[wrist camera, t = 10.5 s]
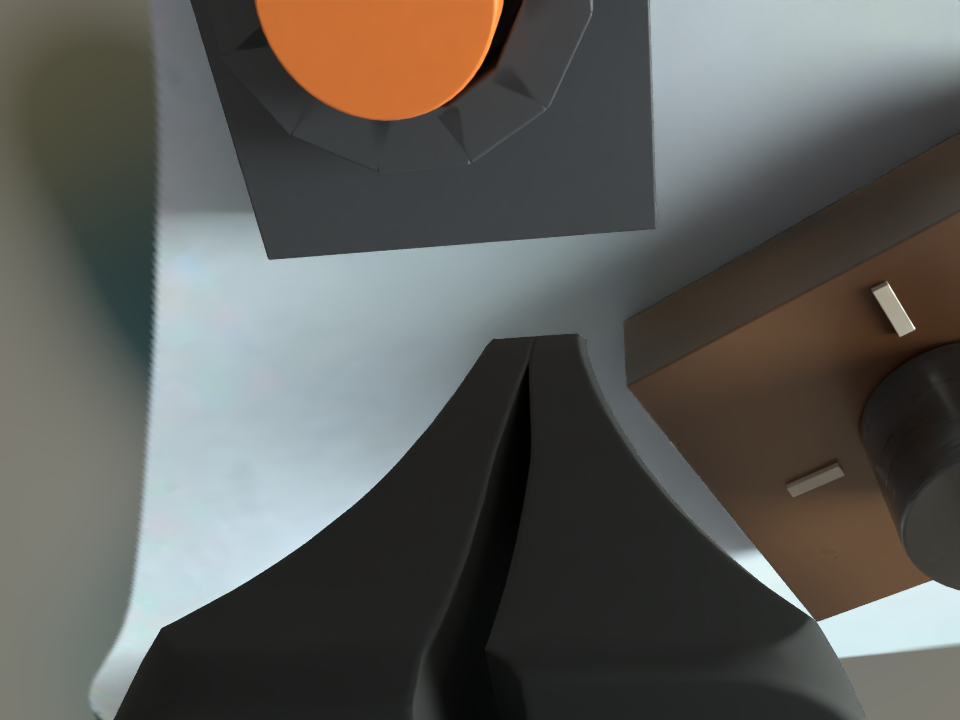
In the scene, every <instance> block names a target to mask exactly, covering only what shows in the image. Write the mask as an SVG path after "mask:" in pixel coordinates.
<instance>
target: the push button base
mask: <svg viewBox="0 0 960 720" xmlns="http://www.w3.org/2000/svg"><path fill="white" fill-rule="evenodd" d="M190 1H191V4H192V8H193V11H194V14H195V18H196V21H197V24H198V28H199V31H200V34H201V38H202V41H203V44H204V48H205V51H206V54H207V57H208V61H209V64H210V67H211V71H212V74H213V77H214V81H215V84H216V87H217V91H218V94H219V97H220V101H221V104H222V107H223V111H224V114H225V117H226V121H227V124H228V127H229V130H230V134H231V137H232V140H233V144H234V147H235V150H236V154H237V157H238V160H239V164H240V167H241V170H242V174H243V177H244V180H245V184H246V187H247V190H248V194H249V197H250V200H251V203H252V207H253V210H254V213H255V217H256V220H257V223H258V227H259V230H260V233H261V237H262V240H263V243H264V247H265V250H266V253H267V257H268V259H269V260H272V259H285V258H297V257H310V256H322V255H335V254H347V253H360V252H372V251H385V250H397V249H410V248H422V247H435V246H447V245H460V244H472V243H485V242H497V241H510V240H522V239H535V238H547V237H560V236H572V235H585V234H597V233H610V232H622V231H635V230H647V229H656V227H657V215H656V184H655V152H654V121H653V89H652V57H651V26H650V0H504V3H503V8H502V12H501V15H500V18H499V21H498V24H497V27H496V30H495V33H494V36H493V39H492V42H491V45H490V47H489V50H488V52H487V54H486V56H485V59H484V61H483V63H482V65H481V66H480V68H479V69H478V71H477V72H476V74H475V75H474V77H473V78H472V79H471V80H470V82H469V83H468V84H467V85H466V86H465V87H464V88H463V89H462V90H461V91H460V92H459V93H458V94H457V95H456V96H454V97H453V98H452V99H451V100H449V101H448V102H446V103H445V104H443V105H442V106H440V107H438V108H436V109H434V110H432V111H430V112H428V113H425V114H422V115H419V116H416V117H413V118H407V119H401V120H388V121H381V120H370V119H364V118H360V117H355V116H352V115H349V114H346V113H343V112H341V111H338V110H336V109H334V108H332V107H330V106H328V105H326V104H324V103H323V102H321V101H320V100H318V99H317V98H315V97H313V96H312V95H311V94H309V93H308V92H307V91H306V90H305V89H303V88H302V87H301V86H300V85H299V84H298V83H297V82H296V81H295V80H294V79H293V78H292V77H291V76H290V75H289V74H288V73H287V71H286V70H285V69H284V67H283V66H282V65H281V63H280V62H279V61H278V59H277V58H276V56H275V54H274V53H273V51H272V49H271V48H270V46H269V44H268V41H267V39H266V37H265V35H264V33H263V30H262V27H261V24H260V21H259V18H258V15H257V11H256V6H255V1H254V0H190Z"/></svg>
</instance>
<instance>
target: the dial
mask: <svg viewBox="0 0 960 720" xmlns="http://www.w3.org/2000/svg"><path fill="white" fill-rule="evenodd" d="M861 439H862V444H863V447H864V449H865V452H866V455H867V457H868V460H869V462H870V465H871V467H872V470H873V472H874V475H875V477H876V480H877V482H878V485H879V487H880V490H881V492H882V495H883V498H884V500H885V503H886V505H887V508H888V510H889V513H890V515H891V518H892V520H893V523H894V525H895V528H896V530H897V533H898V535H899V538H900V540H901V543H902V545H903V548H904V550H905V552H906V554H907V556H908V558H909V559H910V560H911V562H912V563H913V564H914V565H915V566H916V567H917V568H918V569H919V570H920V571H921V572H923V573H924V574H925V575H926V576H928V577H929V578H931V579H933V580H934V581H936V582H938V583H940V584H943V585H945V586H947V587H951V588H954V589H957V590H960V342H957V343H952V344H948V345H944V346H941V347H938V348H934V349H932V350H929V351H927V352H924V353H922V354H920V355H918V356H916V357H914V358H912V359H910V360H908V361H907V362H905V363H904V364H902V365H901V366H899V367H898V368H897V369H895V370H894V371H893V372H892V373H891V374H889V375H888V376H887V377H886V378H885V379H884V380H883V381H882V382H881V383H880V384H879V386H878V387H877V388H876V390H875V391H874V392H873V394H872V395H871V397H870V399H869V401H868V402H867V405H866V407H865V410H864V413H863V417H862V421H861Z"/></svg>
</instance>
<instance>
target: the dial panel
mask: <svg viewBox="0 0 960 720" xmlns="http://www.w3.org/2000/svg"><path fill="white" fill-rule="evenodd" d="M623 334H624V351H625V369H626V386H627V388H628V390H629V391H630V392H631V393H632V394H633V396H634V397H635V398H636V399H637V401H638V402H639V403H640V404H641V406H642V407H643V408H644V409H645V411H646V412H647V413H648V414H649V415H650V417H651V418H652V419H653V420H654V422H655V423H656V424H657V425H658V427H659V428H660V429H661V430H662V432H663V433H664V434H665V435H666V436H667V438H668V439H669V440H670V441H671V443H672V444H673V445H674V446H675V448H676V449H677V450H678V451H679V453H680V454H681V455H682V456H683V457H684V459H685V460H686V461H687V462H688V464H689V465H690V466H691V467H692V469H693V470H694V471H695V472H696V474H697V475H698V476H699V477H700V478H701V480H702V481H703V482H704V483H705V485H706V486H707V487H708V488H709V490H710V491H711V492H712V493H713V495H714V496H715V497H716V498H717V499H718V501H719V502H720V503H721V504H722V506H723V507H724V508H725V509H726V511H727V512H728V513H729V514H730V516H731V517H732V518H733V519H734V520H735V522H736V523H737V524H738V525H739V527H740V528H741V529H742V530H743V532H744V533H745V534H746V535H747V536H748V538H749V539H750V540H751V541H752V543H753V544H754V545H755V546H756V548H757V549H758V550H759V551H760V553H761V554H762V555H763V556H764V557H765V559H766V560H767V561H768V562H769V564H770V565H771V566H772V567H773V569H774V570H775V571H776V572H777V574H778V575H779V576H780V577H781V578H782V580H783V581H784V582H785V583H786V585H787V586H788V587H789V588H790V590H791V591H792V592H793V593H794V595H795V596H796V597H797V598H798V599H799V601H800V602H801V603H802V604H803V606H804V607H805V608H806V609H807V611H808V612H809V613H810V614H811V616H812V617H813V618H814V619H815V620H816V621H821V620H824V619H827V618H829V617H832V616H835V615H838V614H840V613H843V612H846V611H849V610H851V609H854V608H857V607H860V606H862V605H865V604H868V603H871V602H873V601H876V600H879V599H882V598H885V597H887V596H890V595H893V594H896V593H898V592H901V591H904V590H907V589H909V588H912V587H915V586H918V585H920V584H923V583H926V582H929V581H931V580H933V579H931V578H929V577H928V576H926V575H925V574H924V573H923V572H921V571H920V570H919V569H918V568H917V567H916V566H915V565H914V564H913V563H912V562H911V560H910V559H909V558H908V556H907V554H906V552H905V550H904V548H903V545H902V543H901V540H900V538H899V535H898V533H897V530H896V528H895V525H894V523H893V520H892V518H891V515H890V513H889V510H888V508H887V505H886V503H885V500H884V498H883V495H882V492H881V490H880V487H879V485H878V482H877V480H876V477H875V475H874V472H873V470H872V467H871V465H870V462H869V460H868V457H867V455H866V452H865V449H864V447H863V444H862V439H861V421H862V417H863V413H864V410H865V407H866V405H867V402H868V401H869V399H870V397H871V395H872V394H873V392H874V391H875V390H876V388H877V387H878V386H879V384H880V383H881V382H882V381H883V380H884V379H885V378H886V377H887V376H888V375H889V374H891V373H892V372H893V371H894V370H895V369H897V368H898V367H899V366H901V365H902V364H904V363H905V362H907V361H908V360H910V359H912V358H914V357H916V356H918V355H920V354H922V353H924V352H927V351H929V350H932V349H934V348H938V347H941V346H944V345H948V344H952V343H957V342H960V133H958V134H956V135H955V136H953V137H951V138H949V139H948V140H946V141H944V142H942V143H940V144H939V145H937V146H935V147H933V148H932V149H930V150H928V151H926V152H925V153H923V154H921V155H919V156H917V157H916V158H914V159H912V160H910V161H909V162H907V163H905V164H903V165H902V166H900V167H898V168H896V169H894V170H893V171H891V172H889V173H887V174H886V175H884V176H882V177H880V178H879V179H877V180H875V181H873V182H871V183H870V184H868V185H866V186H864V187H863V188H861V189H859V190H857V191H855V192H854V193H852V194H850V195H848V196H847V197H845V198H843V199H841V200H840V201H838V202H836V203H834V204H832V205H831V206H829V207H827V208H825V209H824V210H822V211H820V212H818V213H817V214H815V215H813V216H811V217H809V218H808V219H806V220H804V221H802V222H801V223H799V224H797V225H795V226H794V227H792V228H790V229H788V230H786V231H785V232H783V233H781V234H779V235H778V236H776V237H774V238H772V239H771V240H769V241H767V242H765V243H763V244H762V245H760V246H758V247H756V248H755V249H753V250H751V251H749V252H747V253H746V254H744V255H742V256H740V257H739V258H737V259H735V260H733V261H732V262H730V263H728V264H726V265H724V266H723V267H721V268H719V269H717V270H716V271H714V272H712V273H710V274H709V275H707V276H705V277H703V278H701V279H700V280H698V281H696V282H694V283H693V284H691V285H689V286H687V287H686V288H684V289H682V290H680V291H678V292H677V293H675V294H673V295H671V296H670V297H668V298H666V299H664V300H662V301H661V302H659V303H657V304H655V305H654V306H652V307H650V308H648V309H647V310H645V311H643V312H641V313H639V314H638V315H636V316H634V317H632V318H631V319H629V320H627V321H625V322H624V323H623Z"/></svg>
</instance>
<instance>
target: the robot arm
mask: <svg viewBox="0 0 960 720" xmlns="http://www.w3.org/2000/svg"><path fill="white" fill-rule="evenodd" d="M114 720H867V718H866V716H865V713H864V711H863V709H862V706H861V704H860V702H859V699H858V697H857V695H856V693H855V691H854V688H853V686H852V684H851V682H850V680H849V678H848V676H847V674H846V672H845V670H844V668H843V667H842V665H841V663H840V661H839V659H838V657H837V655H836V654H835V652H834V650H833V648H832V647H831V645H830V643H829V642H828V640H827V638H826V636H825V635H824V633H823V631H822V630H821V628H820V627H819V625H818V623H817V622H816V621H815V620H814V619H812V618H811V617H810V616H808V615H807V614H805V613H804V612H802V611H801V610H800V609H798V608H797V607H795V606H794V605H792V604H791V603H789V602H788V601H787V600H785V599H784V598H782V597H781V596H779V595H778V594H776V593H775V592H774V591H772V590H771V589H769V588H768V587H766V586H765V585H764V584H762V583H761V582H760V581H759V580H758V579H756V578H755V577H754V576H753V575H752V574H750V573H749V572H748V571H747V570H746V569H744V568H743V567H742V566H741V565H739V564H738V563H737V562H736V561H735V560H733V559H732V558H731V557H730V556H729V555H728V554H727V553H726V552H725V551H724V550H723V549H722V548H721V547H720V546H719V545H717V544H716V543H715V542H714V541H713V540H712V539H711V538H710V537H709V536H708V535H707V534H706V533H705V532H704V531H703V530H702V529H701V528H700V527H699V526H698V525H697V524H696V523H695V522H693V521H692V520H691V519H690V518H689V516H688V515H687V514H686V513H685V512H684V511H683V510H682V509H681V508H680V506H679V505H678V504H677V503H676V502H675V501H674V500H673V499H672V497H671V496H670V495H669V494H668V493H667V492H666V490H665V489H664V488H663V487H662V485H661V484H660V483H659V482H658V480H657V479H656V478H655V477H654V475H653V474H652V473H651V471H650V470H649V469H648V467H647V466H646V465H645V463H644V462H643V461H642V459H641V458H640V456H639V455H638V453H637V452H636V450H635V449H634V447H633V446H632V444H631V443H630V441H629V440H628V438H627V437H626V435H625V433H624V432H623V430H622V428H621V427H620V425H619V423H618V422H617V420H616V418H615V416H614V414H613V412H612V411H611V409H610V407H609V405H608V403H607V401H606V399H605V397H604V395H603V393H602V391H601V389H600V387H599V385H598V382H597V380H596V377H595V375H594V372H593V370H592V367H591V364H590V360H589V357H588V350H587V340H586V339H585V338H583V337H582V336H581V335H580V334H578V333H575V334H561V335H547V336H532V337H518V338H503V339H493V340H492V341H491V342H490V343H489V344H488V345H487V346H486V347H485V349H484V350H483V352H482V353H481V355H480V357H479V358H478V360H477V361H476V363H475V364H474V366H473V367H472V369H471V370H470V372H469V373H468V375H467V376H466V377H465V379H464V380H463V382H462V383H461V385H460V386H459V387H458V389H457V390H456V392H455V393H454V394H453V396H452V397H451V398H450V400H449V401H448V402H447V404H446V405H445V406H444V408H443V409H442V410H441V412H440V413H439V414H438V416H437V417H436V418H435V420H434V421H433V422H432V423H431V425H430V426H429V427H428V428H427V430H426V431H425V432H424V433H423V434H422V435H421V436H420V438H419V439H418V440H417V441H416V442H415V443H414V445H413V446H412V447H411V448H410V449H409V450H408V452H407V453H406V454H405V455H404V456H403V457H402V458H401V460H400V461H399V462H398V463H397V464H396V465H395V466H394V467H393V468H392V469H391V470H390V471H389V472H388V473H387V474H386V475H385V476H384V477H383V478H382V479H381V480H380V481H379V482H378V483H377V484H376V485H375V486H374V487H373V488H372V489H371V490H370V491H369V492H368V493H367V494H366V495H365V496H364V497H362V498H361V499H360V500H359V501H358V502H357V503H356V504H354V505H353V506H352V507H351V508H350V509H348V510H347V511H346V512H345V513H343V514H342V515H341V516H340V517H338V518H337V519H336V520H334V521H333V522H332V523H331V524H329V525H328V526H327V527H326V528H324V529H323V530H322V531H321V532H319V533H318V534H317V535H315V536H314V537H313V538H312V539H310V540H309V541H308V542H306V543H305V544H304V545H302V546H301V547H300V548H298V549H297V550H295V551H294V552H292V553H291V554H289V555H288V556H286V557H285V558H283V559H282V560H281V561H279V562H278V563H276V564H275V565H273V566H271V567H270V568H268V569H267V570H265V571H264V572H262V573H260V574H259V575H257V576H256V577H254V578H252V579H251V580H249V581H248V582H246V583H244V584H243V585H241V586H239V587H238V588H236V589H234V590H232V591H231V592H229V593H227V594H225V595H223V596H222V597H220V598H218V599H216V600H214V601H212V602H210V603H209V604H207V605H205V606H203V607H201V608H199V609H197V610H196V611H194V612H192V613H190V614H188V615H186V616H184V617H183V618H181V619H179V620H177V621H175V622H173V623H171V624H169V625H167V626H165V627H163V628H161V630H160V632H159V634H158V635H157V637H156V639H155V640H154V642H153V644H152V646H151V647H150V649H149V651H148V652H147V654H146V656H145V657H144V659H143V661H142V662H141V665H140V667H139V669H138V671H137V673H136V675H135V677H134V679H133V681H132V683H131V685H130V687H129V689H128V691H127V693H126V695H125V697H124V699H123V701H122V703H121V705H120V708H119V710H118V712H117V714H116V716H115V718H114Z"/></svg>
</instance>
